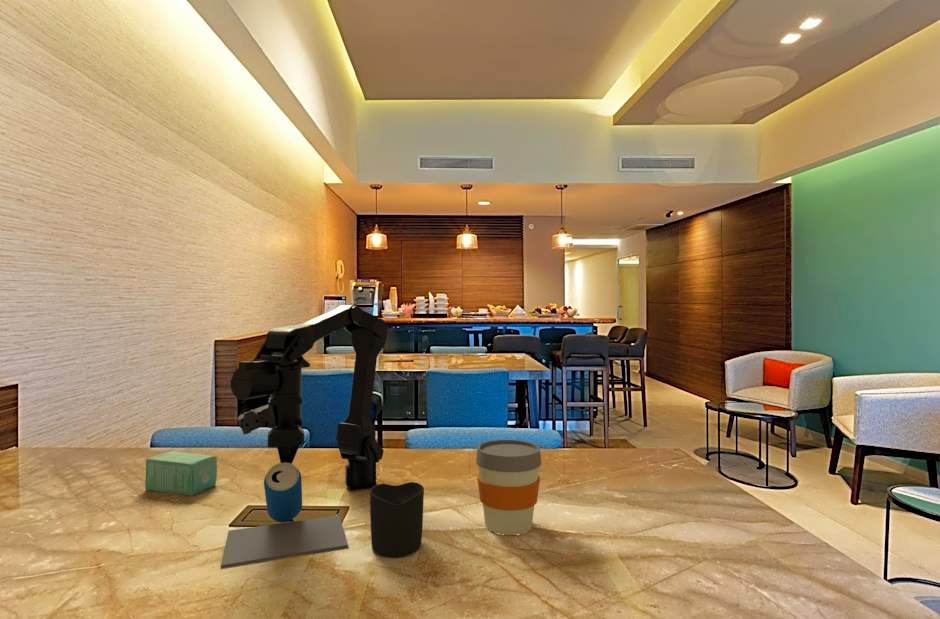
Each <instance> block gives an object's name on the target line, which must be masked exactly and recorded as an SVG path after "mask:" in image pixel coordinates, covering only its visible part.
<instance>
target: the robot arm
mask: <svg viewBox="0 0 940 619" xmlns="http://www.w3.org/2000/svg"><path fill="white" fill-rule="evenodd" d="M342 329H344V330H345V331H346V332H348V333H349V334H350V343H351V345H352V349H353V350H354V353H355V361H354V366H353V367H354V368H353V377H352V385H351V394H350V401H349V408H348V409H349V410H348V415H347V417H346V418H345V420H344V421H343V422H339V423H338V425H337V435H336V437H335V441H336V446H337V449H338V451H339V455H340V458H341V459H342V460H347V464H346V465H344V483H345V485H346V487H347V488H348V490H349V491H350V492H351V491H353V492H354V491H359V490H368V489H369V490H370V489H371V488H372V487H373V486H375V485H378V483H377V463H379V462H380V460H382V459H383V455H384V450H385V449H383V447H382V446H381V445H380V444H379V443H378V442H377V440H376V428H375V425H374V422H373V421H372V418H371V412H372V411H371V410H372V404H373V396H374V387H375V386H374V385H375V379H376V378H375V377H376V369H377V361H378V356H379V354H380V353H381V352H382V350H383V349H384V348H385V347H386V346H385V345H386V342H387V338H388V332H389V327H388V325H387V324H386V321H385V320H384V319H383V318H380V317H377V316H376V315H374V314H372V313H370V312H367V311H365V310H363V309H362V308H361V307H360V306H358V305H354V304H348V305H347V304H345V305H344V304H341V305H339V306H337V307H336V308H334V309H333V310H330V311H328V312H325V313H324V314H320V315H319V316H317V317H315V318H314V317H313V318H312V319H310V320H308V321H305V322H303V323H299V324H291V325H286V326H279V327H273V328H271V329H270V330H269V331H268V332H267V333H266V338H265V339H264V340H265V341H264V342H263V343H262V345H261V347H260V348H259V350H258V352H257V354H256V355H255V357H254V358H253V360H252V361H249V360H248V361H247V360H245V361H244V360H243V361H239V362H238V368H237V369H235V371H234V372H233V373H232V377H231V379H230V388H231V392H232V394H233V396H234V397H235V398H236V399H238V400H240V401H245V400H250V399H255V398H261V397H267V396H270V397H269V398H268V401H267V403H268V404H266V405H262V406H259V407H256V408H254V409H250V411H245V412H244V413H241V414H240V415H238V418H237V421H238V424H239V428H240V429H241V432H242V433H243V435H248V434H250V433H252V431H255V430H257V429H259V428H262V427H265V426H267V428H268V429H270V430H269V431H268V433H267V448H270V449H271V448H276V449H277V452H278V456H279V461H280V462H279V463H291V464H293V463H294V460H295V458H296V455H297V452H298V450H299V449H300V446H302V445H305V430H304V429H303V428H302V426H303V425H302V424H303V420H302V403H303V401H302V400H303V398H302V372H303V371H302V368H303V369H304V368H310V367H311V364H310V363H309V361H307V360H306V359H305V358H304V355H305V354H306V353H308V352H309V351H311V349H313V347H314V344H315V343H317V341H319V340H322V339H323V338H325V337H327V336H329V335H331V334H333V333H335V332H337V331H339V330H342Z"/></svg>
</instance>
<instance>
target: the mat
mask: <svg viewBox="0 0 940 619" xmlns="http://www.w3.org/2000/svg"><path fill="white" fill-rule="evenodd" d="M341 519H342V518H341V516H340V515H339V514H338V515H331V516H324V517H317V518H309V519H302V520H296V521H295V520H294V521H287V522H279V523H274V524H266V525H259V526H253V527H244V528H237V529H231V530H228V533H227V534H226V535H227V537H226V540H225V545H224V549H223V553H222V558H221V563H220V568H227V567H228V568H229V567H234V566H240V564H241V565H246V564H252V562H253V563H258V562H259V563H260V562H265V561H271V560H276V559H283V558H291V557H296V556H301V555H303V556H304V555H309V554H313V553H321V552H325V551H333V550H340V549H344V548H349V543H348V540H347V536H346V533H345V530H344V527H343V522H342V520H341Z"/></svg>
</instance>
